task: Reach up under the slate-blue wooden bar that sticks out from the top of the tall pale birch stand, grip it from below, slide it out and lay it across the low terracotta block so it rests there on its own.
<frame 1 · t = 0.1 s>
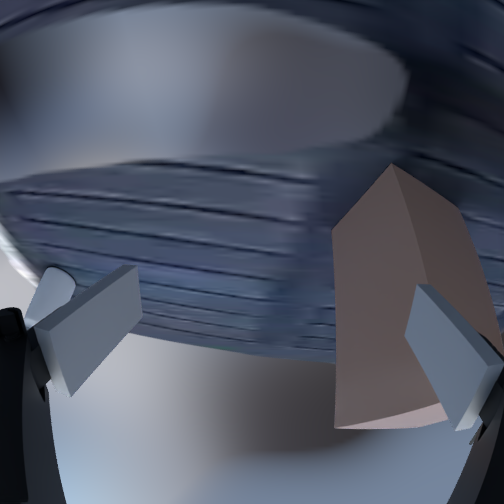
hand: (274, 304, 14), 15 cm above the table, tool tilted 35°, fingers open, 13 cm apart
block: (397, 218, 29), on the table
can: (61, 275, 48), on the table
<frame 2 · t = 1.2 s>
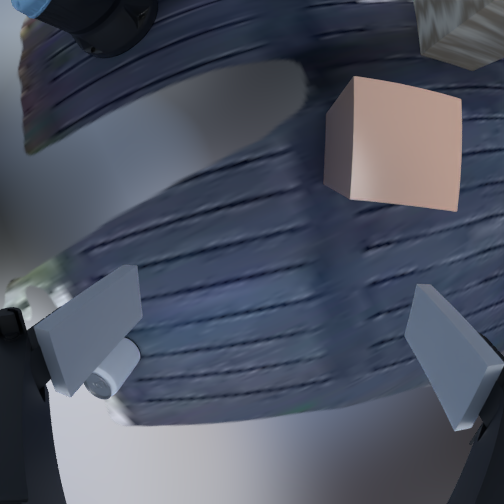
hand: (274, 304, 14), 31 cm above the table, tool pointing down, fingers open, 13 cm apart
block: (359, 152, 40), on the table
stand: (442, 24, 31), on the table
can: (126, 349, 54), on the table
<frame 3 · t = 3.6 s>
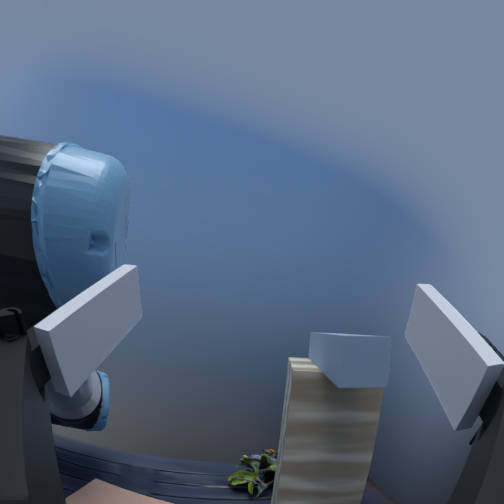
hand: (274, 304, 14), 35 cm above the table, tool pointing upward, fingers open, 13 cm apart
bar: (335, 368, 32), point 30 cm above the table, touching stand
passion flower: (259, 491, 47), on the table
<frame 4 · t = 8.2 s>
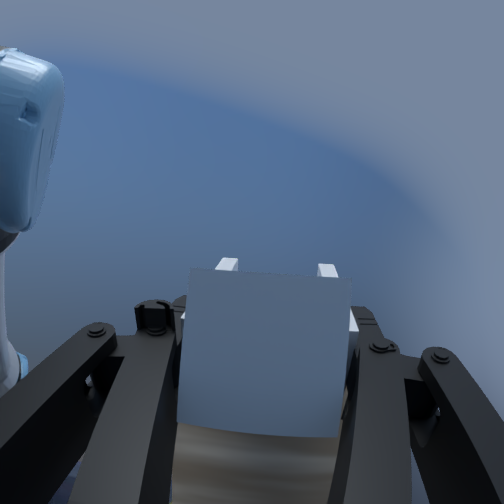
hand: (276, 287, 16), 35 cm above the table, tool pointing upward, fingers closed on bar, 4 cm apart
bar: (271, 371, 18), point 30 cm above the table, touching gripper, stand
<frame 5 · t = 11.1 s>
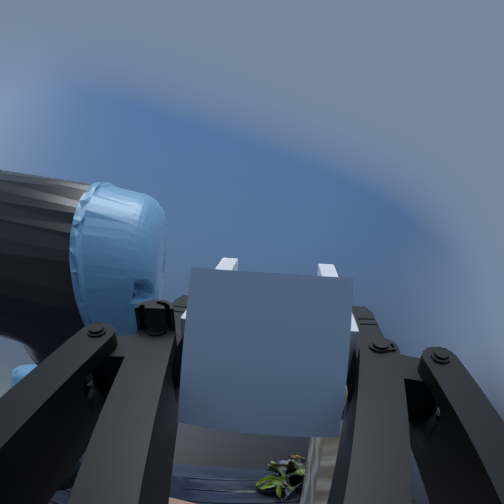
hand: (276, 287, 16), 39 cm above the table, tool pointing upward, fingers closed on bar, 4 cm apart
bar: (271, 371, 18), point 34 cm above the table, touching gripper
passion flower: (285, 494, 50), on the table
when the fingers open (25 cm above the table, at t = 14.2 s): bar drops 1 cm, resting on block.
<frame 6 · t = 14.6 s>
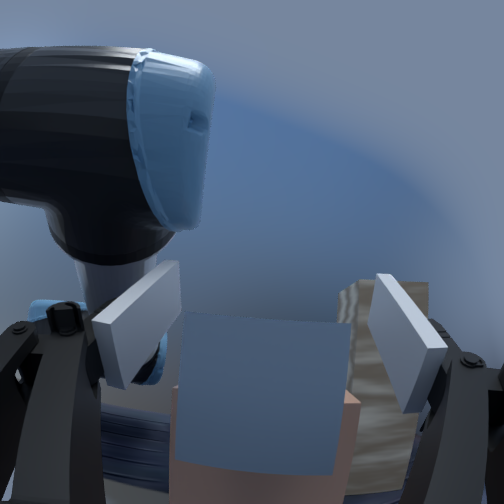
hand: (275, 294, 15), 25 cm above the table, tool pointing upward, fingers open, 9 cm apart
bar: (269, 388, 18), point 19 cm above the table, touching block
stand: (357, 472, 37), on the table
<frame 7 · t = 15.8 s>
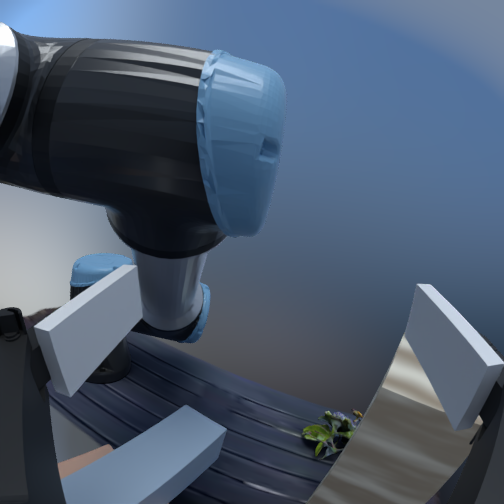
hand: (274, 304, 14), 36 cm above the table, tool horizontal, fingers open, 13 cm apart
passion flower: (329, 451, 48), on the table
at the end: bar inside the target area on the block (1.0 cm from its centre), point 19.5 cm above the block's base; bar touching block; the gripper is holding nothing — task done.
